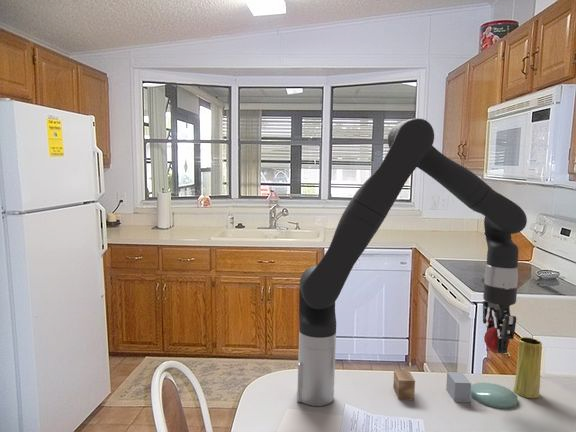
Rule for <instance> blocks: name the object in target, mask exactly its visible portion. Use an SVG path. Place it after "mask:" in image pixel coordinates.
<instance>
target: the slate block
mask: <svg viewBox="0 0 576 432" xmlns="http://www.w3.org/2000/svg"><path fill="white" fill-rule="evenodd" d="M471 385H472V382H471V381H470V380H469V378H468V377H467V376H466V374H464V372H458V371H456V372H455V371H453V372H452V371H447V372H446V386H445V387H446V388H445V390H446V392H447V393H448V394H449V397H451V399H452V401H453V402H460V403H463V402H464V403H470V402H471V395H470V394H471Z"/></svg>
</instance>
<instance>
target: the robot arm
mask: <svg viewBox="0 0 576 432" xmlns="http://www.w3.org/2000/svg"><path fill="white" fill-rule="evenodd" d="M434 142H435V131H434V128H433V125H432V124H431V123H430V122H429V121H428V120H426V119H423V118H418V117H417V118H415V117H414V118H409V119H406V120H404V121H401V122H398V123H397V124H395V125H394V126H392V128H391V129H390V130H389V132H388V135H387V145H388V148H389V149H388V151H387V153H386V155H385V157H384V158H383V160H382V161H381V163H380V164H379V166H378V167H377V169H376V170H375V171H374V172H373V173H372V174H371V175H370V176H369V177H368V178H367V179H366V181H364V183H363V184H362V185H361V186H360V187H359V189H358V190H356V192H355V193H354V195H353V196H352V198H351V199H350V201H349V203H348V204H347V205H346V207H345V210H344V211H343V212H342V215H341V216H340V219H339V221H338V223H337V226H336V229H335V231H334V234H333V236H332V239H331V242H330V245H329V247H328V249H327V250H326V252H325V253H324V255H323V256H322V258H321V260H320V261H319V262H318V263H317V265H312V266H310V267H308V268H306V269H305V270H304V271H303V273H302V274H301V276H300V279H299V280H300V281H299V293H298V297H299V298H298V319H299V320H298V325H299V327H298V329H299V330H298V334H299V335H298V359H297V389H296V390H297V395H296V396H297V398H296V399H297V400H296V402H297V403H303V404H305V405H309V406H313V407H321V406H328V405H329V404H331V403H332V402H333V401H334V398H335V397H334V396H335V373H336V372H335V371H336V349H337V348H336V344H337V343H336V342H337V317H336V301H337V299H338V298H339V296H340V294H341V292H342V290H343V288H344V286H345V283H346V282H347V280H348V278H349V276H350V273H351V271H352V269H353V268H354V266H355V264H356V263H357V262H358V260H359V258H360V257H361V256H362V254H363V253H364V251H365V250H366V248H367V247H368V245H369V244H370V242H371V241H372V239H373V238H374V236H375V235H376V234H377V232H378V231H379V229H380V227H381V226H382V224H383V222H384V221H385V219H386V217H387V216H388V214H389V213H390V210H391V209H392V207H393V206H394V204H395V202H396V201H397V199H398V197H399V195H400V193H401V191H402V190H403V187H404V186H405V184H406V182H407V181H408V179H409V178H410V176H412V174H413V173H414V171H415V170H416V169H417V168H418V170H421V172H424V173H425V174H427V175H428V176H430V177H431V178H432V179H433V180H435V182H437V183H439V184H440V185H441V186H442V187H444V188H445V190H447V191H448V192H449V193H450V194H452V195H453V196H454V197H455V198H456V199H458V201H460V202H461V203H462V204H463V205H465V206H466V207H467V208H468V209H471V210H472V211H473V212H476V213H479V214H481V215H483V217H484V221H483V225H484V233H485V234H484V235H485V240H486V244H487V252H486V253H487V254H486V266H485V270H484V278H483V279H484V280H483V281H484V283H483V295H482V296H483V300H484V301H483V302H482V322H483V324H485V328H486V331H487V330H488V329H489V328H491V327H493V326H495V328H496V329H497V333H498V341H497V352H498V353H497V354H507V353H508V347H507V345H508V339H509V340H514V337H515V331H516V325H517V316H516V315H511V309H510V306H513V305H515V304H516V302H517V294H518V279H519V274H518V264H519V247H518V246H517V244H515V243H514V242H513V240H512V235H513V234H518V233H521V232H522V231H524V229H526V228H525V227H526V226H527V222H528V216H527V215H526V213H525V211H524V210H523V209H522V207H521V206H520V205H519V204H517V203H516V202H514V201H513V200H511V199H509V198H507V197H506V196H504V195H502V194H501V193H499V192H498V191H495V190H494V189H493V188H492V187H491V186H490V185H489V184H487V183H486V182H485V181H484V180H483V179H481V178H480V177H479V176H478V175H477V174H475V173H474V172H473V171H471V170H470V169H468V168H467V167H465V166H463V165H461V164H460V163H458V162H456V161H454V160H452V159H451V158H449V157H447V156H446V155H445V154H443V153H442V152H441V151H439V150H438V149H437V148H436V147H435V146H434ZM499 324H500V325H499ZM501 329H502V333H501ZM508 346H509V345H508Z"/></svg>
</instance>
